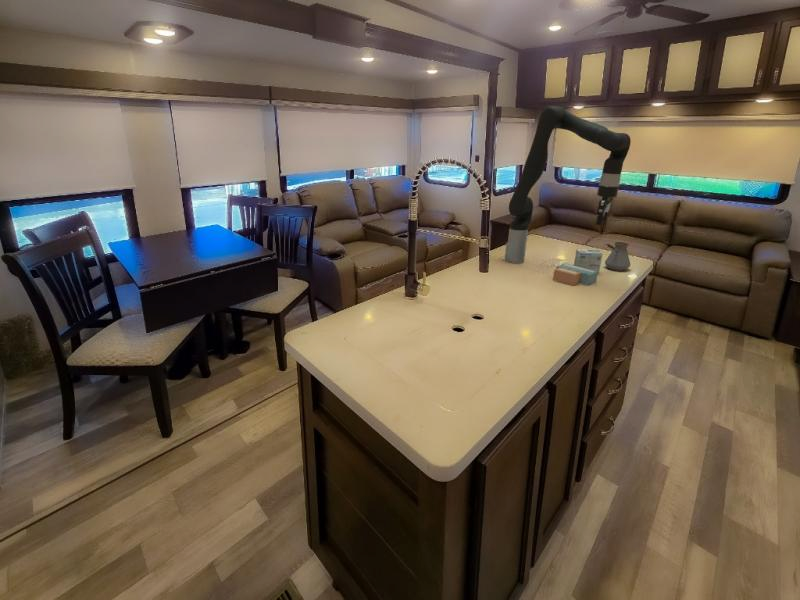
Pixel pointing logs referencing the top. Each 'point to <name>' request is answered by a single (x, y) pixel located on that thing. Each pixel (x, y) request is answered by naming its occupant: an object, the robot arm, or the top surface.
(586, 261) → the light bulb box
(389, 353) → the top surface
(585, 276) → the blue labelled box
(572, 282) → the orange labelled box
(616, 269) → the coffee pot
